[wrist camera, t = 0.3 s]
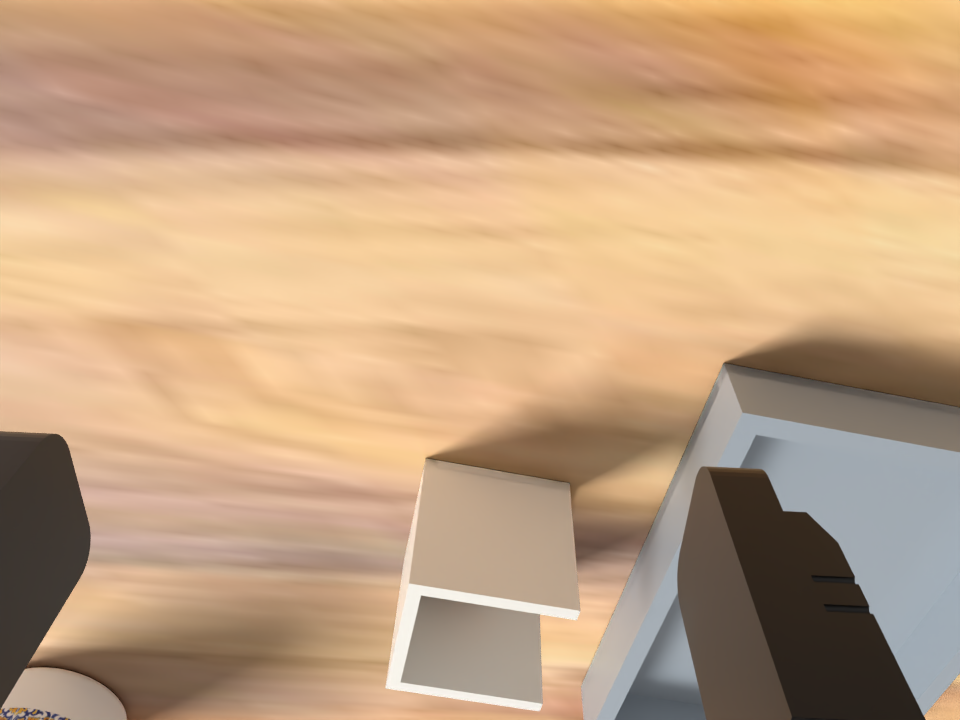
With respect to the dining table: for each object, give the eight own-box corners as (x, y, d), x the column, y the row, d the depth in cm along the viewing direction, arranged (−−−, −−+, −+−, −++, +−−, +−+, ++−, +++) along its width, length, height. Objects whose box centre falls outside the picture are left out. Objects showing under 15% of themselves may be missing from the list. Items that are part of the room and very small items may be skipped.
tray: (723, 362, 30) (742, 412, 28) (1074, 429, 32) (1122, 482, 29) (580, 686, 41) (585, 742, 39) (845, 726, 43) (865, 783, 40)
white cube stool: (425, 458, 33) (409, 583, 28) (569, 483, 34) (580, 610, 29) (404, 558, 37) (385, 688, 31) (535, 580, 37) (539, 711, 32)
